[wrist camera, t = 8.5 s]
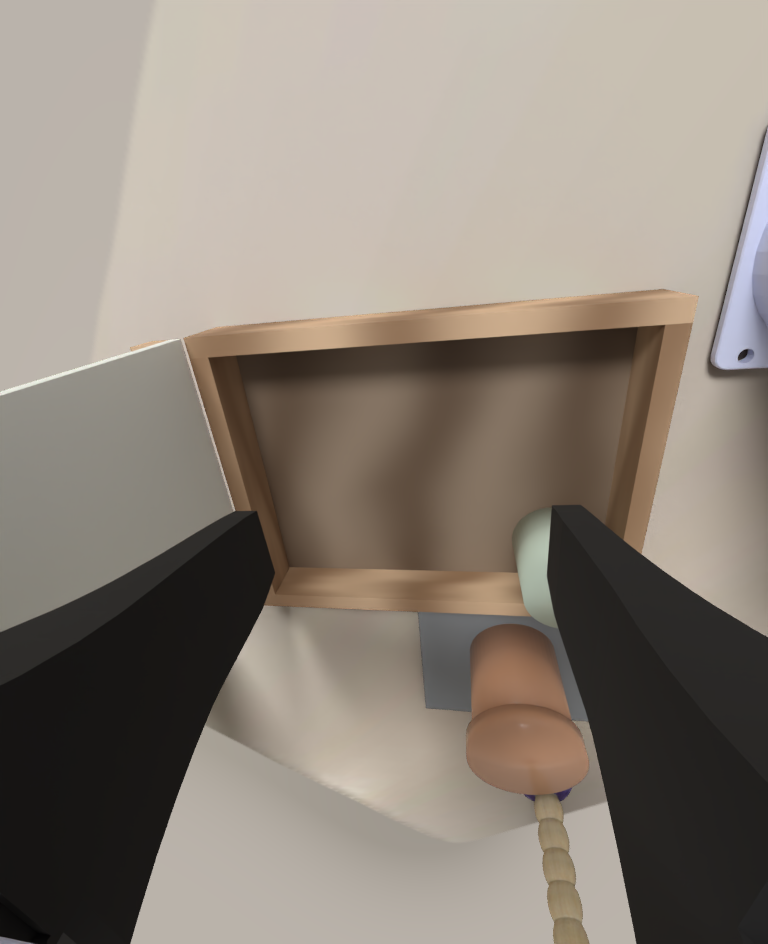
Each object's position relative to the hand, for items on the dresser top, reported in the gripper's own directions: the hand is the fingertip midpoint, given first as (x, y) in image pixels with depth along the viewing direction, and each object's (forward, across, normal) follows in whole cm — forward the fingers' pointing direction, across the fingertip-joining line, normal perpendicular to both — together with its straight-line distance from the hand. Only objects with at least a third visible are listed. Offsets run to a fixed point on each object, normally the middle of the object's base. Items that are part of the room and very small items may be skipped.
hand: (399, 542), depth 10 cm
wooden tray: (+10, 0, +3) cm, 10 cm away
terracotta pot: (+10, -4, +15) cm, 18 cm away
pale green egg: (+10, -6, +7) cm, 13 cm away
